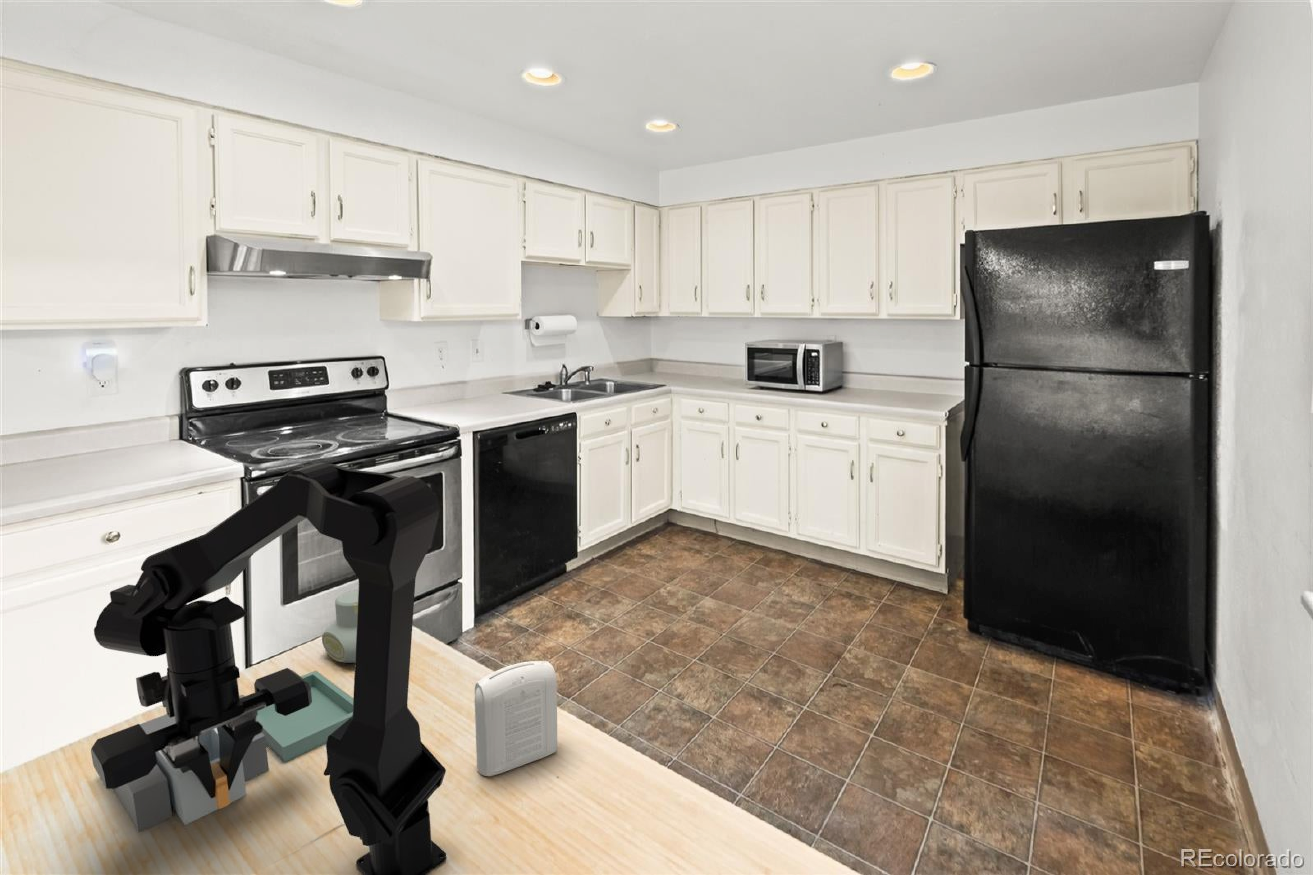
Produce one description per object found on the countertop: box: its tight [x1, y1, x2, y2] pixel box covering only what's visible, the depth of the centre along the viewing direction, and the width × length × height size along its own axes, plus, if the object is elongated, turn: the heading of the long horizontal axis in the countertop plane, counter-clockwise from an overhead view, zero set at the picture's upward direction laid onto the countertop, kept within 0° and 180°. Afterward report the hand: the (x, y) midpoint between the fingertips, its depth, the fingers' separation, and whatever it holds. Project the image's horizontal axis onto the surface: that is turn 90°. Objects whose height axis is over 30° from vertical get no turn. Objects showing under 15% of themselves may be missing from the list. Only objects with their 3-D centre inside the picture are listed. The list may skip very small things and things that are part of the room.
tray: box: [257, 670, 353, 764], centre depth 91 cm, size 15×11×2 cm
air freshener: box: [321, 589, 358, 664], centre depth 108 cm, size 11×8×10 cm
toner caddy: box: [155, 728, 247, 826], centre depth 76 cm, size 12×6×6 cm, turn 50°
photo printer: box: [474, 660, 558, 777], centre depth 83 cm, size 10×4×12 cm, turn 123°
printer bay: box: [113, 713, 270, 833], centre depth 80 cm, size 14×13×5 cm
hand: (219, 792), depth 73 cm, fingers closed on toner caddy
